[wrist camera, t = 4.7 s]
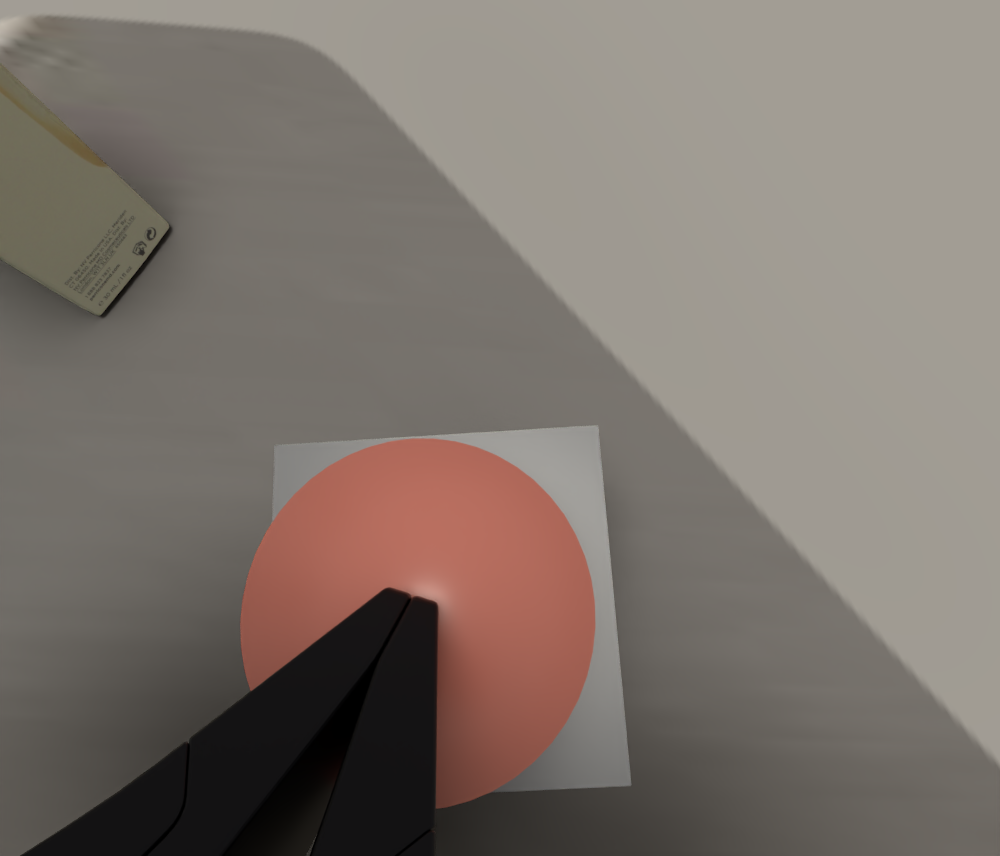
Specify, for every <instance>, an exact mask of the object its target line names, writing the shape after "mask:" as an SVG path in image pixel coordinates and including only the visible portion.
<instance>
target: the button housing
mask: <svg viewBox="0 0 1000 856" xmlns="http://www.w3.org/2000/svg"><path fill="white" fill-rule="evenodd" d="M412 438H421V439H441V440H449V441H456V442H460V443H464V444H467V445H471V446H475V447H478V448H480V449H483V450H485V451H488V452H490V453H492V454H495V455H497V456H499V457H501V458H502V459H504V460H506V461H508V462H509V463H511V464H513V465H515V466H516V467H518V468H519V469H520V470H521V471H523V472H524V473H525V474H527V475H528V476H529V477H531V478H532V479H533V480H534V481H535V482H536V483H537V484H538V485H539V486H540V487H541V488H542V489H543V490H544V491H545V492H546V493H547V494H548V495H549V496H550V497H551V498H552V499H553V501H554V502H555V503H556V504H557V506H558V507H559V508H560V510H561V511H562V512H563V514H564V515H565V517H566V518H567V520H568V522H569V524H570V525H571V527H572V529H573V530H574V532H575V534H576V536H577V538H578V541H579V543H580V546H581V548H582V550H583V553H584V555H585V558H586V562H587V565H588V569H589V572H590V576H591V580H592V587H593V593H594V600H595V636H594V646H593V653H592V658H591V662H590V666H589V671H588V675H587V678H586V681H585V683H584V686H583V689H582V691H581V694H580V697H579V699H578V701H577V703H576V705H575V707H574V709H573V711H572V713H571V715H570V717H569V718H568V720H567V722H566V724H565V725H564V727H563V728H562V729H561V731H560V732H559V734H558V735H557V736H556V738H555V739H554V741H553V742H552V743H551V744H550V745H549V747H548V748H547V749H546V750H545V751H544V752H543V753H542V754H541V755H540V756H539V757H538V758H537V759H536V760H535V762H533V763H532V764H531V765H530V766H529V767H527V768H526V769H525V770H524V771H522V772H521V773H520V774H519V775H518V776H516V777H515V778H514V779H512V780H510V781H509V782H507V783H505V784H504V785H502V786H500V787H499V788H497V789H496V790H494V791H492V792H513V791H534V790H555V789H576V788H597V787H618V786H631V775H630V765H629V754H628V743H627V732H626V722H625V711H624V700H623V689H622V678H621V668H620V657H619V646H618V635H617V625H616V614H615V603H614V592H613V581H612V571H611V560H610V549H609V538H608V528H607V517H606V506H605V495H604V485H603V474H602V463H601V452H600V441H599V431H598V425H593V426H577V427H560V428H544V429H528V430H512V431H495V432H479V433H463V434H446V435H430V436H414V437H397V438H381V439H365V440H349V441H332V442H316V443H300V444H283V445H275V446H274V481H273V515H272V522H273V521H274V519H275V518H276V516H277V515H278V513H279V512H280V511H281V509H282V508H283V507H284V506H285V505H286V503H287V502H288V501H289V500H290V499H291V498H292V496H293V495H294V494H295V493H296V492H297V491H298V490H299V489H301V488H302V487H303V486H304V485H305V484H306V483H307V482H308V481H309V480H310V479H311V478H313V477H314V476H316V475H317V474H318V473H320V472H321V471H323V470H324V469H325V468H327V467H328V466H330V465H331V464H333V463H335V462H337V461H339V460H340V459H342V458H344V457H346V456H348V455H350V454H352V453H355V452H357V451H360V450H362V449H365V448H367V447H370V446H374V445H378V444H382V443H386V442H390V441H396V440H404V439H412ZM492 792H490V793H492Z"/></svg>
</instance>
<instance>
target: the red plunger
mask: <svg viewBox="0 0 1000 856" xmlns="http://www.w3.org/2000/svg"><path fill="white" fill-rule="evenodd" d="M388 587H391V588H395V589H398V590H401V591H404V592H407V593H409V594H410V595H411V596H412V598H413V597H414V596H420V597H423V598H426V599H429V600H432V601H435V602H437V604H438V609H439V614H438V689H437V764H436V809H438V808H446V807H450V806H453V805H457V804H461V803H464V802H468V801H471V800H473V799H476V798H478V797H480V796H483V795H485V794H487V793H490V792H492V791H494V790H496V789H497V788H499V787H500V786H502V785H504V784H505V783H507V782H509V781H510V780H512V779H514V778H515V777H516V776H518V775H519V774H520V773H521V772H522V771H524V770H525V769H526V768H527V767H529V766H530V765H531V764H532V763H533V762H535V760H536V759H537V758H538V757H539V756H540V755H541V754H542V753H543V752H544V751H545V750H546V749H547V748H548V747H549V745H550V744H551V743H552V742H553V741H554V739H555V738H556V736H557V735H558V734H559V732H560V731H561V729H562V728H563V727H564V725H565V724H566V722H567V720H568V718H569V717H570V715H571V713H572V711H573V709H574V707H575V705H576V703H577V701H578V699H579V697H580V694H581V691H582V689H583V686H584V683H585V681H586V678H587V675H588V671H589V666H590V662H591V658H592V653H593V646H594V636H595V600H594V593H593V587H592V580H591V576H590V572H589V569H588V565H587V562H586V558H585V555H584V553H583V550H582V548H581V546H580V543H579V541H578V538H577V536H576V534H575V532H574V530H573V529H572V527H571V525H570V524H569V522H568V520H567V518H566V517H565V515H564V514H563V512H562V511H561V510H560V508H559V507H558V506H557V504H556V503H555V502H554V501H553V499H552V498H551V497H550V496H549V495H548V494H547V493H546V492H545V491H544V490H543V489H542V488H541V487H540V486H539V485H538V484H537V483H536V482H535V481H534V480H533V479H532V478H531V477H529V476H528V475H527V474H525V473H524V472H523V471H521V470H520V469H519V468H518V467H516V466H515V465H513V464H511V463H509V462H508V461H506V460H504V459H502V458H501V457H499V456H497V455H495V454H492V453H490V452H488V451H485V450H483V449H480V448H478V447H475V446H471V445H467V444H464V443H460V442H456V441H449V440H441V439H421V438H412V439H404V440H396V441H390V442H386V443H382V444H378V445H374V446H370V447H367V448H365V449H362V450H360V451H357V452H355V453H352V454H350V455H348V456H346V457H344V458H342V459H340V460H339V461H337V462H335V463H333V464H331V465H330V466H328V467H327V468H325V469H324V470H323V471H321V472H320V473H318V474H317V475H316V476H314V477H313V478H311V479H310V480H309V481H308V482H307V483H306V484H305V485H304V486H303V487H302V488H301V489H299V490H298V491H297V492H296V493H295V494H294V495H293V496H292V498H291V499H290V500H289V501H288V502H287V503H286V505H285V506H284V507H283V508H282V509H281V511H280V512H279V513H278V515H277V516H276V518H275V519H274V521H273V522H272V524H271V525H270V527H269V528H268V530H267V531H266V533H265V535H264V537H263V539H262V541H261V543H260V545H259V547H258V549H257V551H256V554H255V557H254V559H253V562H252V565H251V568H250V571H249V573H248V577H247V582H246V586H245V590H244V595H243V601H242V611H241V621H240V627H241V650H242V657H243V663H244V670H245V674H246V677H247V681H248V684H249V688H250V691H252V690H253V689H254V688H256V687H257V686H258V685H260V684H261V683H262V682H263V681H265V680H266V679H267V678H269V677H270V676H271V675H273V674H274V673H275V672H276V671H278V670H279V669H280V668H282V667H283V666H284V665H286V664H287V663H288V662H289V661H291V660H292V659H293V658H295V657H296V656H297V655H299V654H300V653H301V652H302V651H304V650H305V649H306V648H308V647H309V646H310V645H312V644H313V643H314V642H315V641H317V640H318V639H319V638H321V637H322V636H323V635H324V634H326V633H327V632H328V631H330V630H331V629H332V628H334V627H335V626H336V625H337V624H339V623H340V622H341V621H343V620H344V619H345V618H347V617H348V616H349V615H350V614H352V613H353V612H354V611H356V610H357V609H358V608H360V607H361V606H362V605H363V604H365V603H366V602H367V601H369V600H370V599H371V598H373V597H374V596H375V595H376V594H378V593H379V592H380V591H382V590H383V589H385V588H388Z"/></svg>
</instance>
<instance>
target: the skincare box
mask: <svg viewBox="0 0 1000 856" xmlns="http://www.w3.org/2000/svg"><path fill="white" fill-rule="evenodd" d="M168 228H169V224H168V222H166V221H165V220H164V219H163V218H162V217H161V216H160V215H159V214H158V213H157V212H156V211H155V210H154V209H153V208H152V207H151V206H150V205H149V204H148V203H147V202H146V201H145V200H143V199H142V198H141V197H140V196H139V195H138V194H137V193H136V192H135V191H134V190H133V189H132V188H131V187H130V186H129V185H128V184H127V183H126V182H124V181H123V180H122V179H121V178H120V177H119V176H118V175H117V174H116V173H115V172H114V171H113V170H112V169H111V168H110V167H109V166H108V165H106V164H105V163H104V162H103V161H102V160H101V159H100V158H99V157H98V156H97V155H96V154H95V153H94V152H93V151H92V150H91V149H90V148H89V147H88V146H87V145H86V144H85V143H84V142H82V141H81V140H80V139H79V138H78V137H77V136H76V135H75V134H74V133H73V132H72V131H71V130H70V129H69V128H68V127H67V126H66V125H65V124H64V123H63V122H62V121H61V120H60V119H59V118H58V117H57V116H56V115H55V114H53V113H52V112H51V111H50V110H49V109H48V108H47V107H46V106H45V105H44V104H43V103H42V102H41V101H40V100H39V99H38V98H37V97H36V96H35V95H34V94H33V93H31V92H30V91H29V90H28V89H27V88H26V87H25V86H24V85H23V84H22V83H21V82H20V81H19V80H18V79H17V78H16V77H15V76H14V75H13V74H12V73H10V72H9V71H8V70H7V69H6V68H5V67H4V66H3V65H2V64H1V63H0V260H2V261H4V262H5V263H7V264H9V265H10V266H12V267H14V268H15V269H17V270H19V271H20V272H22V273H24V274H25V275H27V276H29V277H30V278H32V279H34V280H35V281H37V282H38V283H40V284H42V285H43V286H45V287H47V288H48V289H50V290H52V291H54V292H55V293H57V294H59V295H60V296H62V297H64V298H65V299H67V300H69V301H70V302H72V303H74V304H76V305H78V306H79V307H81V308H83V309H85V310H87V311H89V312H90V313H92V314H94V315H97V316H99V315H101V314H102V313H103V312H104V311H105V310H106V308H107V307H108V306H109V305H110V303H111V302H112V301H113V300H114V299H115V297H116V296H117V295H118V294H119V292H120V291H121V290H122V289H123V287H124V286H125V285H126V284H127V283H128V281H129V280H130V279H131V278H132V276H133V275H134V274H135V273H136V271H137V270H138V269H139V268H140V266H141V265H142V264H143V262H144V261H145V260H146V259H147V257H148V256H149V254H150V253H151V252H152V250H153V249H154V248H155V246H156V245H157V244H158V243H159V241H160V240H161V238H162V237H163V235H164V234H165V232H166V231H167V230H168Z"/></svg>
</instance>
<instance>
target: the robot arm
mask: <svg viewBox="0 0 1000 856" xmlns="http://www.w3.org/2000/svg"><path fill="white" fill-rule="evenodd" d="M438 614H439V609H438V604H437V602H435V601H432V600H429V599H426V598H423V597H420V596H414V597H413V598H412V596H411V595H410V594H409V593H407V592H404V591H401V590H398V589H395V588H391V587H388V588H385V589H383V590H382V591H380V592H379V593H378V594H376V595H375V596H374V597H373V598H371V599H370V600H369V601H367V602H366V603H365V604H363V605H362V606H361V607H360V608H358V609H357V610H356V611H354V612H353V613H352V614H350V615H349V616H348V617H347V618H345V619H344V620H343V621H341V622H340V623H339V624H337V625H336V626H335V627H334V628H332V629H331V630H330V631H328V632H327V633H326V634H324V635H323V636H322V637H321V638H319V639H318V640H317V641H315V642H314V643H313V644H312V645H310V646H309V647H308V648H306V649H305V650H304V651H302V652H301V653H300V654H299V655H297V656H296V657H295V658H293V659H292V660H291V661H289V662H288V663H287V664H286V665H284V666H283V667H282V668H280V669H279V670H278V671H276V672H275V673H274V674H273V675H271V676H270V677H269V678H267V679H266V680H265V681H263V682H262V683H261V684H260V685H258V686H257V687H256V688H254V689H253V690H252V691H250V692H249V693H248V694H247V695H245V696H244V697H243V698H241V699H240V700H239V701H237V702H236V703H235V704H234V705H232V706H231V707H230V708H228V709H227V710H226V711H224V712H223V713H222V714H221V715H219V716H218V717H217V718H215V719H214V720H213V721H211V722H210V723H209V724H208V725H206V726H205V727H204V728H202V729H201V730H200V731H198V732H197V733H196V734H195V735H193V736H192V737H191V738H190V740H189V743H187V742H184V743H182V744H181V745H180V746H179V747H177V748H176V749H175V750H173V751H172V752H171V753H170V754H168V755H167V756H166V757H164V758H163V759H162V760H161V761H159V762H158V763H157V764H155V765H154V766H153V767H151V768H150V769H148V770H147V771H146V772H144V773H143V774H142V775H140V776H139V777H137V778H136V779H135V780H133V781H132V782H131V783H129V784H128V785H127V786H125V787H124V788H122V789H121V790H120V791H118V792H117V793H115V794H114V795H112V796H111V797H109V798H108V799H106V800H105V801H103V802H102V803H100V804H99V805H97V806H96V807H94V808H93V809H91V810H90V811H88V812H87V813H85V814H84V815H82V816H81V817H79V818H78V819H76V820H75V821H73V822H72V823H70V824H69V825H67V826H66V827H64V828H63V829H61V830H60V831H58V832H56V833H55V834H53V835H52V836H50V837H49V838H47V839H45V840H44V841H42V842H41V843H39V844H38V845H36V846H34V847H33V848H31V849H30V850H28V851H27V852H25V853H24V854H22V855H20V856H306V854H307V852H308V850H309V848H310V846H311V844H312V842H313V840H314V838H315V836H316V834H317V836H316V839H315V842H314V845H313V848H312V851H311V854H310V856H436V833H435V831H434V830H435V827H436V764H437V689H438Z"/></svg>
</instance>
